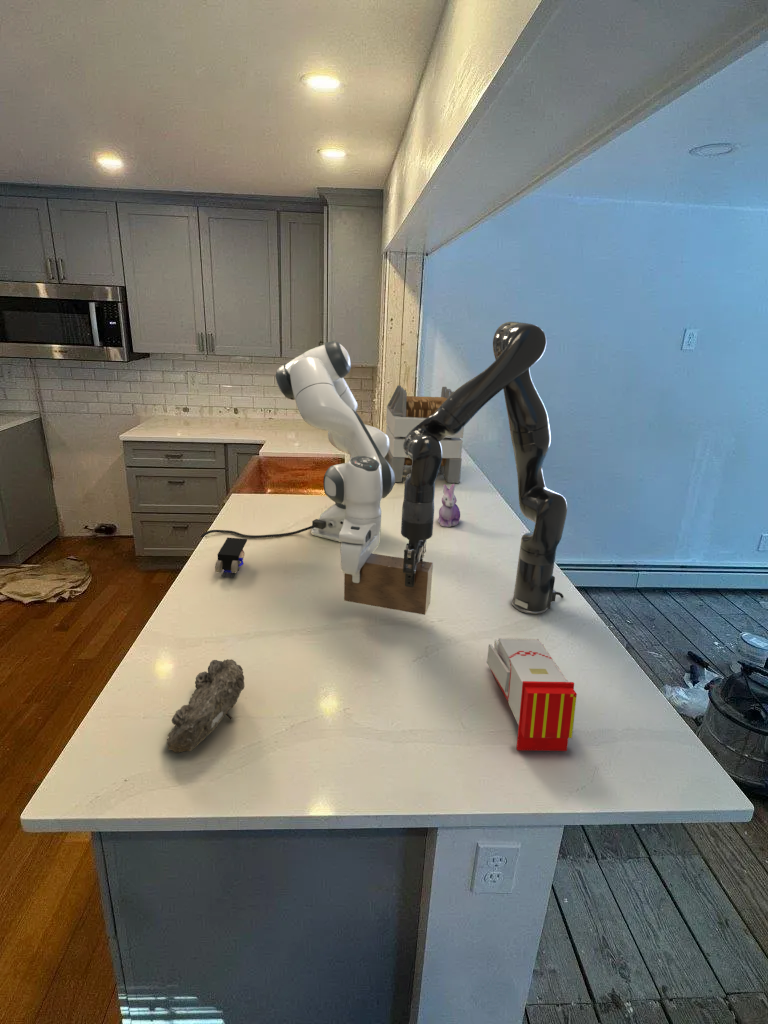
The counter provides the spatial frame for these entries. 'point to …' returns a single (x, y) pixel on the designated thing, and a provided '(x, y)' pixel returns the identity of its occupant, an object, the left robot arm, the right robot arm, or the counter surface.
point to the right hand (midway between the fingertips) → (413, 578)
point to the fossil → (206, 705)
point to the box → (390, 585)
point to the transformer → (407, 416)
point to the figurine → (449, 508)
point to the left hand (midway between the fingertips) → (361, 575)
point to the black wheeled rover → (230, 556)
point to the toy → (534, 693)
